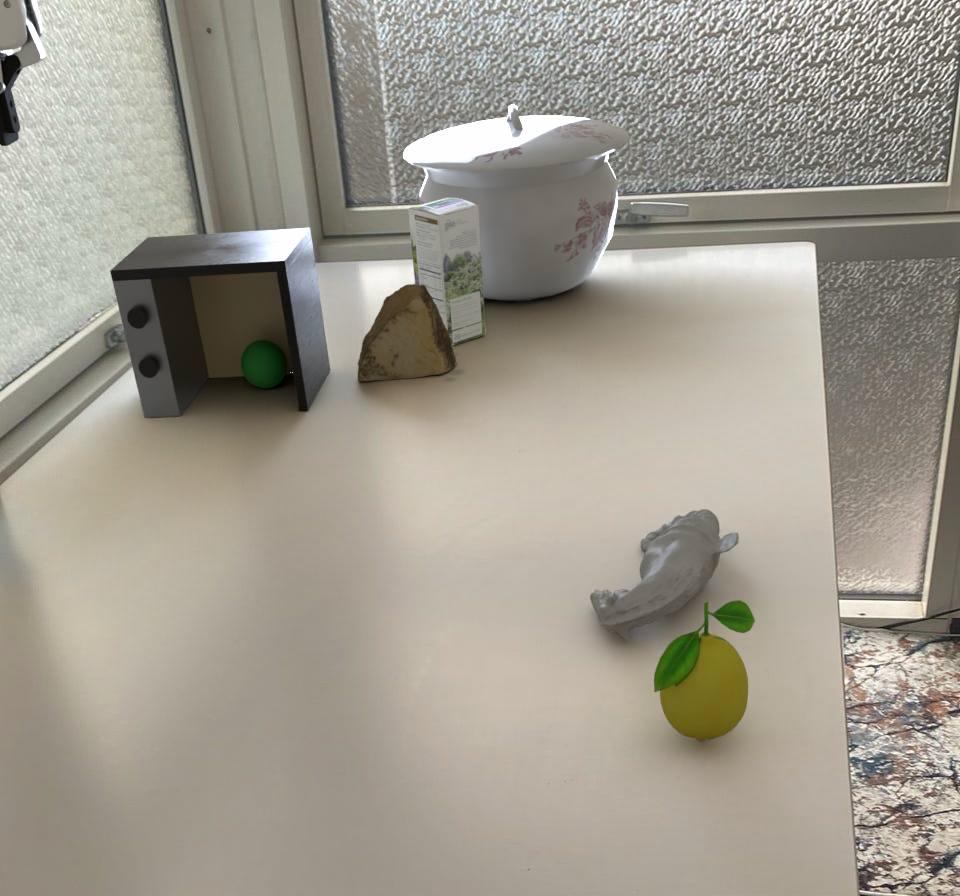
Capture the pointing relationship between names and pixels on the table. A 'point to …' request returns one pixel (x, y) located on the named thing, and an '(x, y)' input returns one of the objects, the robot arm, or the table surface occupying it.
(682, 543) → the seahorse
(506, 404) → the table surface
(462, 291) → the syrup box
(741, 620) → the lemon
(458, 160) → the chamber pot
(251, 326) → the mini oven
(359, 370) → the rock
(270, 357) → the ball
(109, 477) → the table surface
